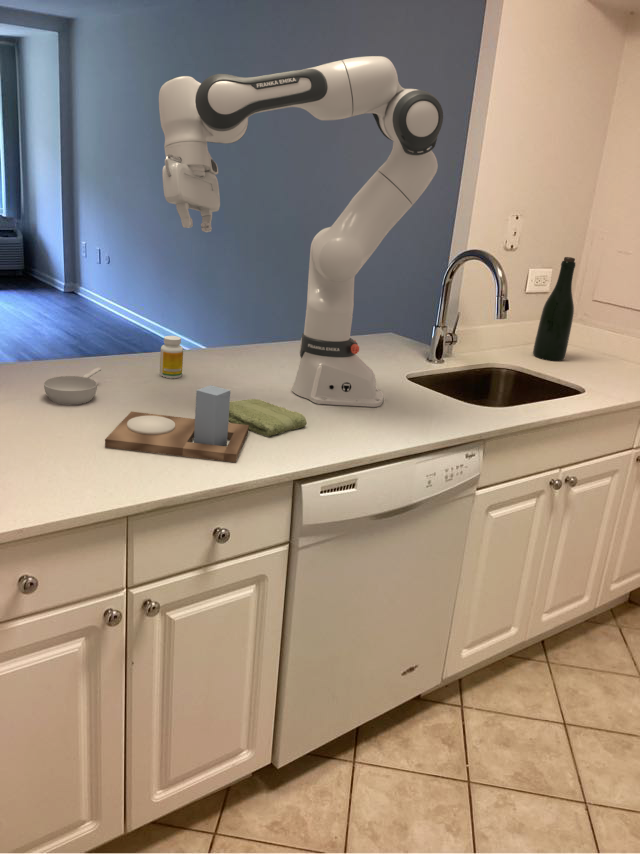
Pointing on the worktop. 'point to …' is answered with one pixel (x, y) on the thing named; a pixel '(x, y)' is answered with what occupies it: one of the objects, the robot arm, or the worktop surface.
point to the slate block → (212, 415)
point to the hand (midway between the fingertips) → (197, 229)
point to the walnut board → (177, 440)
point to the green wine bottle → (557, 317)
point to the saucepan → (71, 388)
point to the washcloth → (264, 417)
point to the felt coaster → (151, 425)
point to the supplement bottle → (171, 357)
